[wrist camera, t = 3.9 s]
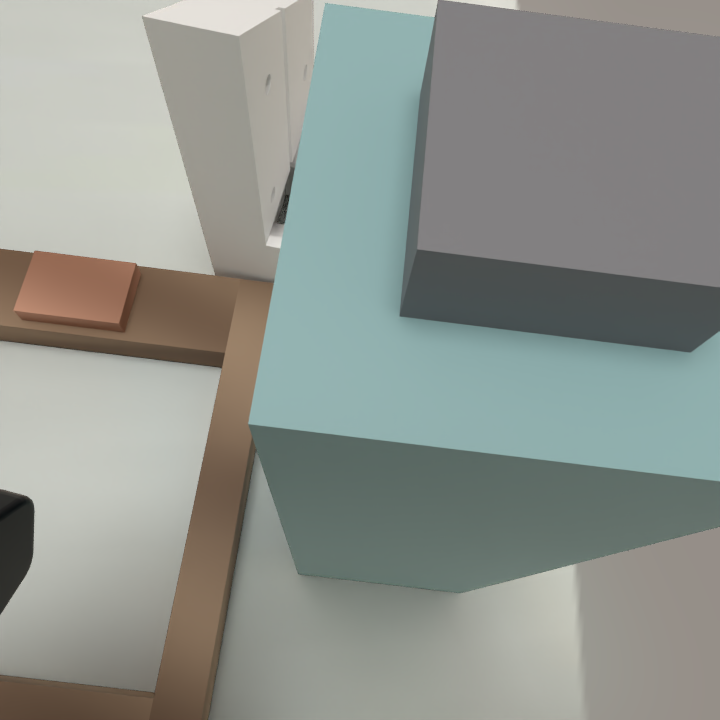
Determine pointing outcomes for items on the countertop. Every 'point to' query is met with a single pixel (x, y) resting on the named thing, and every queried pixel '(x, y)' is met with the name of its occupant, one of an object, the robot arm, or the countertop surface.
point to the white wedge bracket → (237, 116)
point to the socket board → (220, 462)
